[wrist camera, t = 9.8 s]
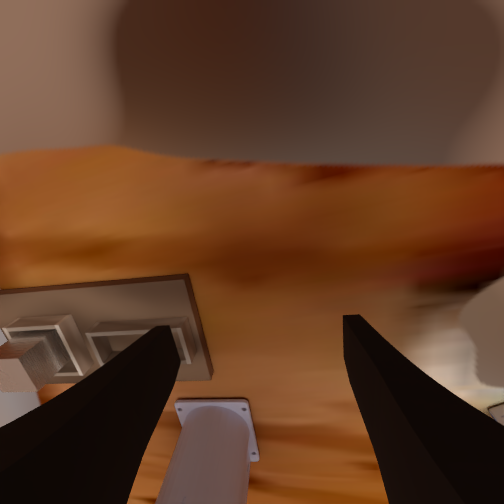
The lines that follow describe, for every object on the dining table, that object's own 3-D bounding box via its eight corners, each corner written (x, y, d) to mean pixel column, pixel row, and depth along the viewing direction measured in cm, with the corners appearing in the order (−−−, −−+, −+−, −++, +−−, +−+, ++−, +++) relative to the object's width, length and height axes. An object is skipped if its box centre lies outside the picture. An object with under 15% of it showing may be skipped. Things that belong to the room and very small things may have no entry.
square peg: (77, 351, 25) (38, 391, 21) (47, 353, 26) (2, 392, 22) (63, 322, 24) (17, 358, 20) (31, 324, 24) (-20, 360, 20)
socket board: (213, 372, 26) (206, 394, 23) (41, 376, 29) (20, 396, 26) (188, 273, 22) (177, 288, 19) (-8, 290, 25) (-38, 305, 22)
